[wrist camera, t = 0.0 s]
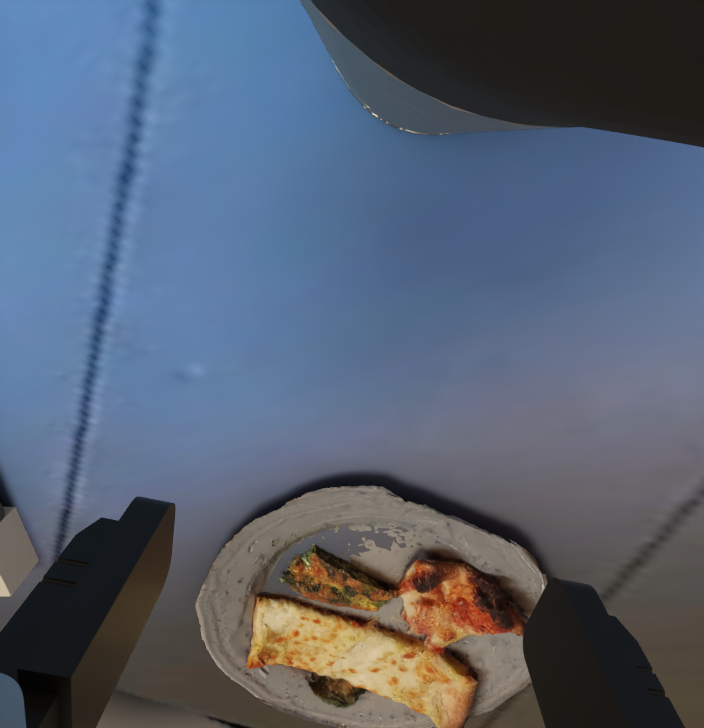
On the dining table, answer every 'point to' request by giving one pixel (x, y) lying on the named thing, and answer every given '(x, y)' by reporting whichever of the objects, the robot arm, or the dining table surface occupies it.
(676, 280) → the dining table surface
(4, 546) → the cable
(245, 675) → the food plate
